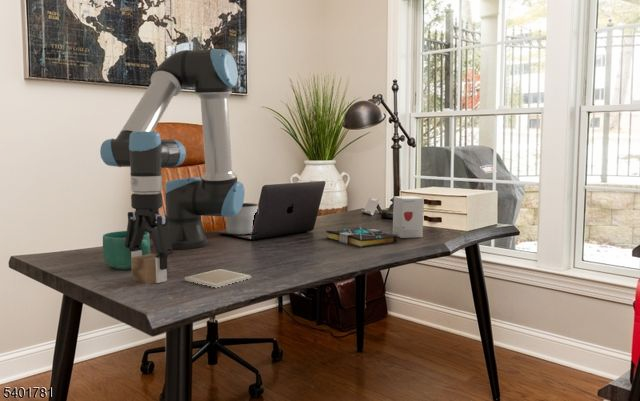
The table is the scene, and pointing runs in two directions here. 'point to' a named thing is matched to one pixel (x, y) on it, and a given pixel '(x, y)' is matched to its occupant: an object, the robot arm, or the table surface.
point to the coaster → (217, 278)
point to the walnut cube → (144, 268)
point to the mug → (121, 249)
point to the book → (362, 237)
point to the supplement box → (408, 216)
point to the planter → (242, 220)
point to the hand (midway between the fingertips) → (149, 278)
